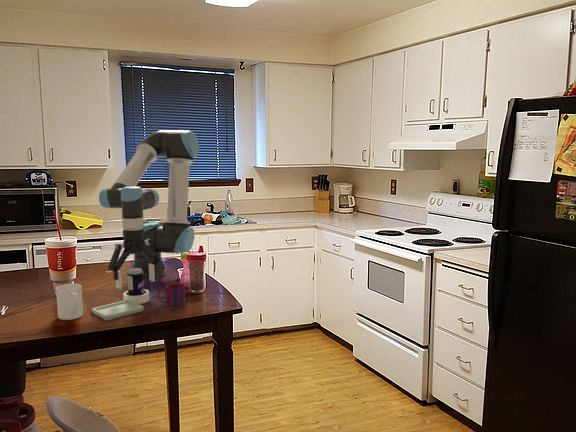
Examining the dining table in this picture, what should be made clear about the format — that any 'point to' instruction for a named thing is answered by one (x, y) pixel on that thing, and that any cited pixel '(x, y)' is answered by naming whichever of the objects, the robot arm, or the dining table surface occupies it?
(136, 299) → the white round dish
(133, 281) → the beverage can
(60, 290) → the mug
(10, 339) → the dining table surface
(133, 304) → the tray
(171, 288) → the cup
